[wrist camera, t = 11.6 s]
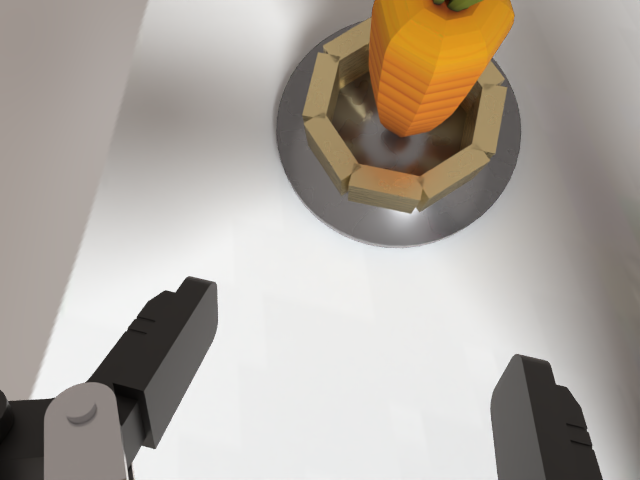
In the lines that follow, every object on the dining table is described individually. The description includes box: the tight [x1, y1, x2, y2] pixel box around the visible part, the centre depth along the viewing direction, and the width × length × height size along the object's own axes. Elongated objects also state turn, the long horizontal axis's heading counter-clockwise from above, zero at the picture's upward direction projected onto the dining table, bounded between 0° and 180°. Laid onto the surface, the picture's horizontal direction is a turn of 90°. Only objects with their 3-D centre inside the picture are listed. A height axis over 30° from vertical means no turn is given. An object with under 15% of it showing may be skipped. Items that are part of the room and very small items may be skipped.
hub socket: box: [277, 17, 521, 248], centre depth 25 cm, size 14×14×4 cm
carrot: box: [368, 0, 515, 137], centre depth 19 cm, size 5×5×15 cm
